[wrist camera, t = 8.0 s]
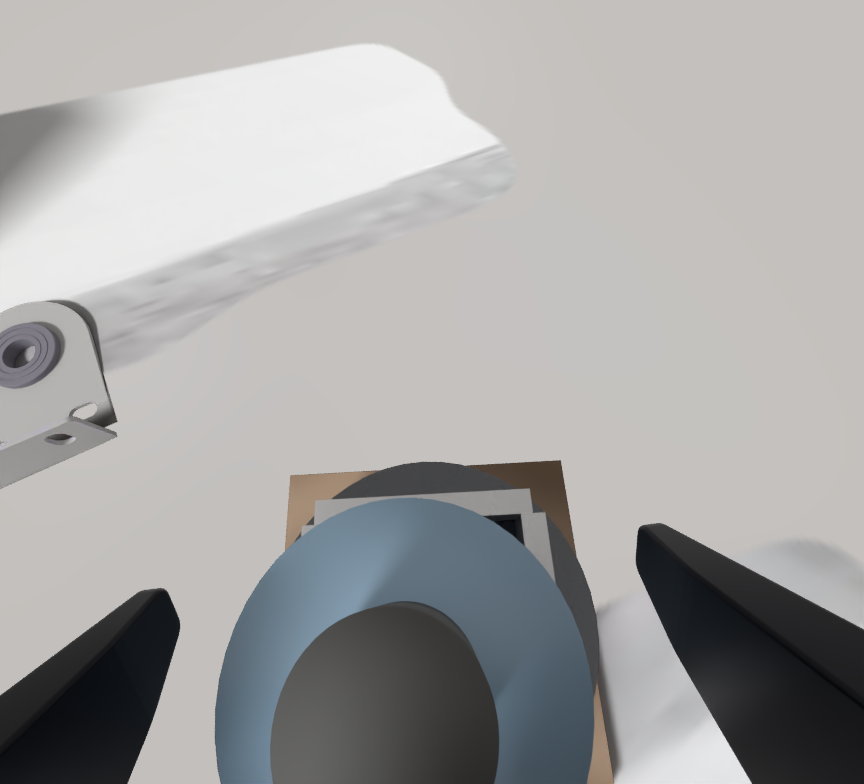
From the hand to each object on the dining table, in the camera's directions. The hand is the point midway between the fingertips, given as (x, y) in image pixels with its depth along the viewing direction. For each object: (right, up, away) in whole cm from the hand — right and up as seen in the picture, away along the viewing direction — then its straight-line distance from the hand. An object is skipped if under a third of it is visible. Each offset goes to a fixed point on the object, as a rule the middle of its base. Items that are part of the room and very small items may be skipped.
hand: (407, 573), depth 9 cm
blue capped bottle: (0, -4, +6) cm, 8 cm away
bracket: (-20, +3, +15) cm, 25 cm away
